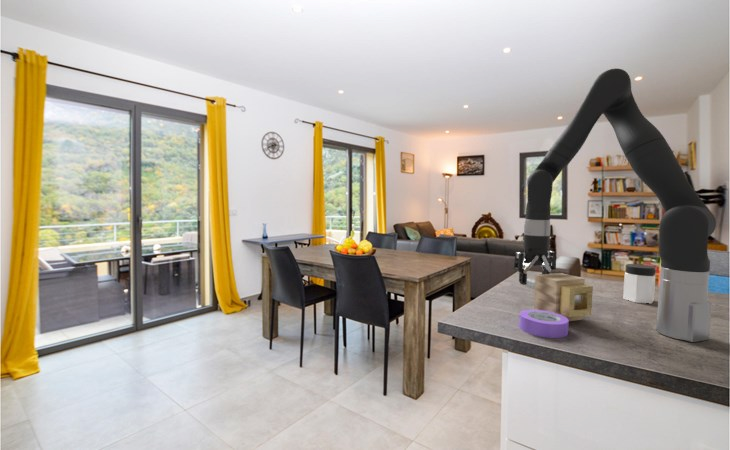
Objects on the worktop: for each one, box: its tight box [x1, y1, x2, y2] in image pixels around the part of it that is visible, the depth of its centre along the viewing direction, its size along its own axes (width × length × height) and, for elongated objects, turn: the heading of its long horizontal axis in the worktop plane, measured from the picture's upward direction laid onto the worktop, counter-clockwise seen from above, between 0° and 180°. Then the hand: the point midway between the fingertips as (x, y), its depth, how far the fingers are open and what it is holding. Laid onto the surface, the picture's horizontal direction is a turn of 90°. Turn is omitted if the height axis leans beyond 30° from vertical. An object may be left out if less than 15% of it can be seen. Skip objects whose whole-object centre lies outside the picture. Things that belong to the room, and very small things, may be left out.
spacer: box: [560, 283, 594, 317], centre depth 98 cm, size 3×8×8 cm, turn 107°
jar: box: [622, 263, 657, 305], centre depth 121 cm, size 9×8×12 cm
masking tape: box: [518, 309, 570, 339], centre depth 94 cm, size 12×12×4 cm
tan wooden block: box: [533, 272, 585, 322], centre depth 104 cm, size 8×10×12 cm
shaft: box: [525, 277, 584, 304], centre depth 106 cm, size 19×3×3 cm, turn 17°
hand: (534, 283), depth 113 cm, fingers open, 8 cm apart
